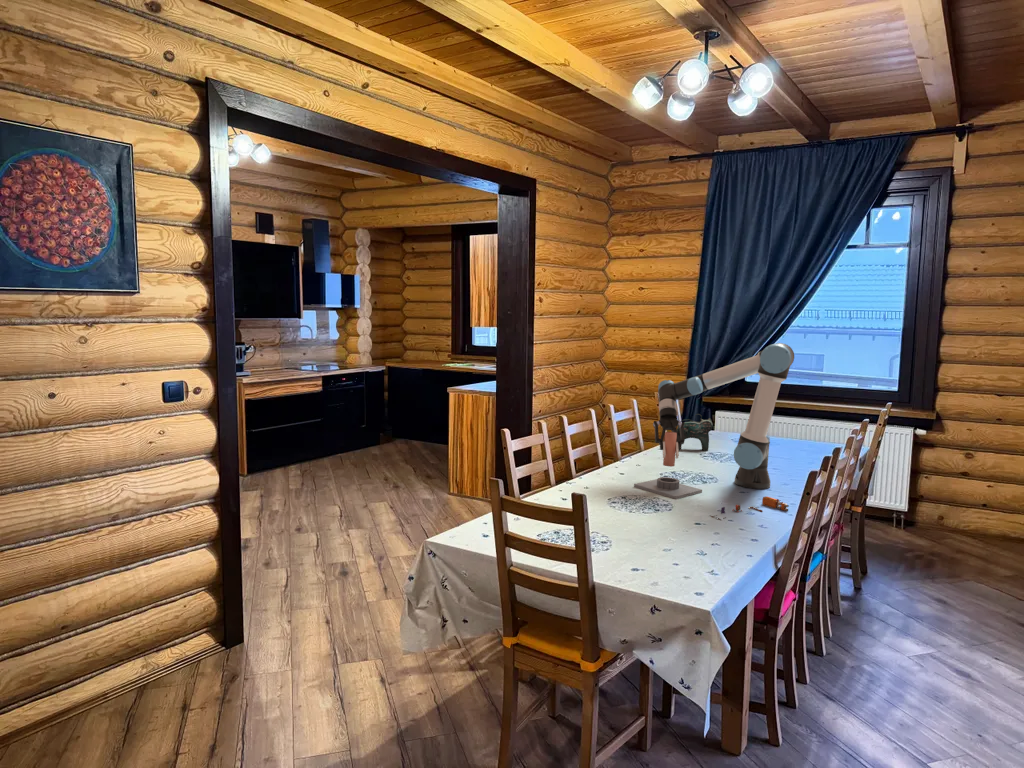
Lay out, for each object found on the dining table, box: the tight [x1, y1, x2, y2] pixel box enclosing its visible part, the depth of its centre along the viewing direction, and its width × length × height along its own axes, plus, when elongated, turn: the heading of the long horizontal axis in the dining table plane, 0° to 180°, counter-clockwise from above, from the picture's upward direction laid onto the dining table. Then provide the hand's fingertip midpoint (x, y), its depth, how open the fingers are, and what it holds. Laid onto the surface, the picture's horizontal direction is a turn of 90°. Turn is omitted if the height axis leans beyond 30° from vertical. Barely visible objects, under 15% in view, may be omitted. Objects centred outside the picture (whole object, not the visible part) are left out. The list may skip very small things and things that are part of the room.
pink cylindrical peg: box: [662, 431, 677, 467], centre depth 287 cm, size 5×5×14 cm
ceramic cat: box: [676, 413, 713, 452], centre depth 372 cm, size 20×6×20 cm, turn 80°
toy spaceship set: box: [709, 495, 789, 521], centre depth 259 cm, size 11×35×4 cm, turn 123°
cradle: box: [633, 476, 703, 500], centre depth 288 cm, size 22×18×4 cm
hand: (670, 456), depth 283 cm, fingers closed on pink cylindrical peg, 5 cm apart
